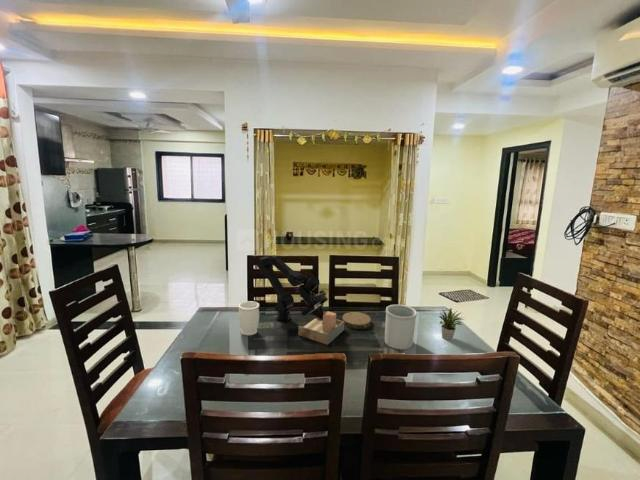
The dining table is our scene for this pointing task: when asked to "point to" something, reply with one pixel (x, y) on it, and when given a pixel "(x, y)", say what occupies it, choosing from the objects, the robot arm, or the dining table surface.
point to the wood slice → (356, 320)
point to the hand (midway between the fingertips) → (324, 319)
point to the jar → (248, 317)
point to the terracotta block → (329, 321)
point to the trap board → (311, 328)
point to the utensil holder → (399, 326)
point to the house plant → (449, 324)
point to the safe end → (328, 337)
